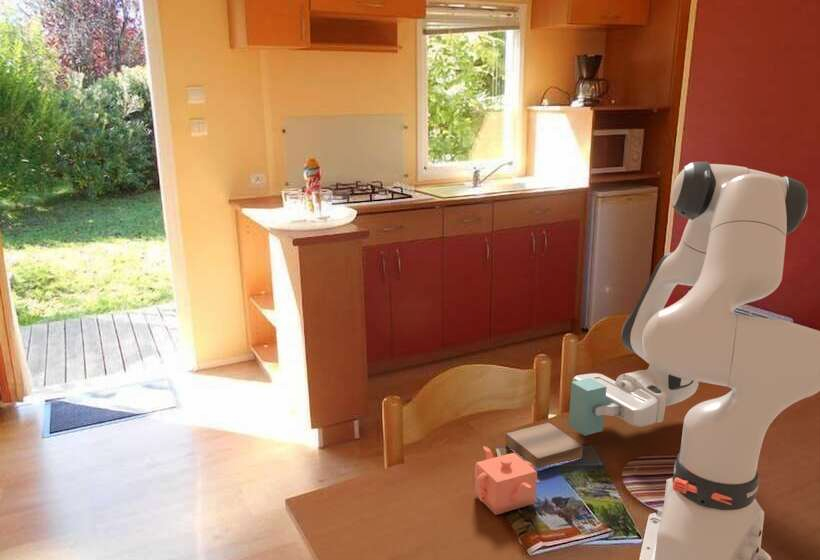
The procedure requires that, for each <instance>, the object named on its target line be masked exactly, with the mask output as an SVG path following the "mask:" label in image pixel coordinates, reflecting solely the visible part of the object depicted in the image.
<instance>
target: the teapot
mask: <svg viewBox="0 0 820 560" xmlns="http://www.w3.org/2000/svg"><path fill="white" fill-rule="evenodd" d="M483 451H484V453H485V457H486V459H484V460H480V461H477V462H475V471H474V472H475V474H474V476H475V477H474V495H475V496H476V497H477V498H478V499H479V501H480V502H481V503H483V504H484V505H485V506H486V507H487V508H488V509H489V510H490V511H491V512H492V513H493V514H494V515H495V516H497V515H501V514H505V513H508V512H511V511H514V510H518V509H520V508H524V507H528V506H531V505H534V504H536V497H537V495H536V494H537V479H538V472H537V471H536V470H534V466H533V465H532V464H531V463H530V462H528V461H524V460H523V459H521V458H520V457H519V456H518V455H517V454H515V453H513V452H511V453H507V454H503V455H499V456H496V457H494V455H493V453H492V450H491V449H490V448H489V447H487V446H483Z"/></svg>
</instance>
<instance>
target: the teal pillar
mask: <svg viewBox="0 0 820 560" xmlns="http://www.w3.org/2000/svg"><path fill="white" fill-rule="evenodd" d="M570 386H571V387H570V397H569V398H570V399H569V400H570V401H569V413H568V414H569V415H568V426H569V427H570V428H571V429H573V430H575V431H577V432H578V433H579V434H580V435H583V436H589V435H592V434H595V433H599V432H604V422H605V415H600V416H597V415H595V414H594V413H592V410H593V409H592V408H593V406H594V405H597V404H600V405H605V400H606V388H607V387H606V386H604V385H602V384H601V383H599V382H597V381H595V380H593V379H591V378H588V379H583V380H579V381H574V382H573V381H571V384H570Z"/></svg>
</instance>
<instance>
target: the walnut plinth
mask: <svg viewBox="0 0 820 560" xmlns="http://www.w3.org/2000/svg"><path fill="white" fill-rule="evenodd" d="M505 447H506V448H507V447H508V448H510V449H512V450H514V451H515V452H516V453H518V454H519V455H520V456H522V457H523V458H524V459H526V460H527V461H528V462H530V463H531V464H532V465H534V466H535V467H536V468H537V469H538V468H541V467H544V466H547V465H551V464H555V463H560V462H565V461H571V460H574V459H577V458H581V457H582V458H583V448H584V445H582V444H581V443H579V442H578V441H576V440H575V439H573V438H572V437H571V436H569V435H568V434H567V433H564V432H563V431H562V430H561V429H559V428H557V427H556V426H555V425H553V424H552V423H550V422H545V423H542V424H537V425H534V426H531V427H526V428H522V429H518V430H515V431H511V432H510V431H509V432H507V433H506V434H505ZM508 448H507V449H508ZM510 449H509V450H510Z"/></svg>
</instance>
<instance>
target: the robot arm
mask: <svg viewBox="0 0 820 560" xmlns="http://www.w3.org/2000/svg"><path fill="white" fill-rule="evenodd" d="M808 200H809V193H808V190H807V187H806V185H805V184H804V183H802V182H801V181H799V180H797V179H795V178H792V177H789V176H787V175H784V176H780V175H777V174H772V173H769V172H765V171H761V170H757V169H752V168H748V167H745V166H739V165H733V164H722V163H710V162H709V161H694V162H693V161H692V162H690V163H688V164H686V165H684V166H683V167H682V168H681V170H680V172H679V173H678V175H677V176H676V177H675V179H674V182H673V184H672V188H671V201H672V208H673V209H674V211H675V212H676V213H677V215H679V216H680V217H681V216H682V217H684V219H685V218H686V219H688V220H687V223H686V225H685V227H684V230H683V232H682V236H681V239H680V242H679V243H678V246H677V247H676V249H674V251H671V252H668V253H666V254H665V255H664V256H662V258H661V259H660V260H659V261H658V263H657V264H656V266H655V267H654V270H653V272H652V273H651V275H650V276H649V279H648V281H647V283H646V285H645V286H644V289H643V291H642V293H641V295H640V297H639V299H638V301H637V303H636V305H635V307H634V309H633V311H632V312H631V314H630V315H629V316H628V318H626V320H625V322H624V323H623V325H622V329H621V341H622V345H623V346H624V348H625V349H627V350H629V351H630V352H632V353H633V354H635V355H637V356H638V357H640V358H641V359H642V360H644V361H645V362H646V363H647V364H648V368H647V369H641V370H636V371H632V372H626V373H623V374H620V375H618V376H617V378H616V380H614V379H612V378H611V377H608V376H606V375H604V374H602V373H597V372H596V373H593V372H592V373H584V374H577V375H575V376H574V377H573V379H572V382H574V381H579V380H583V379H588V378H591V379H593V380H595V381H597V382H599V383H601V384H602V385H604V386H606V387H607V388H606V400H605V405H600V404H597V405H594V406H593V408H592V409H593V410H592V413H594V414H595V415H597V416H600V415H604V416H612V417H617V418H618V419H620V420H622V421H623V422H625V423H627V424H628V425H630V426H632V427H639V428H642V427H646V426H651V425H653V424H658V423H662V422H664V418H665V410H666V407H668V406H671V405H675V404H678V403H681V402H683V401H685V400H687V399H689V398H690V397H692V396H693V395H694V394H695V393H696V392H697V389H698V387H699V383H704V384H711V385H716V386H722V387H728V388H730V389H731V390H730V391H729V392H727V393H726V394H724V395H721V396H719V397H716V398H712V399H706V400H705V401H701V402H699V403H697V404H695V405H694V406H693V407H691V408H690V409H689V410H688V411H687V413H686V415H685V416H684V418H683V425H682V432H681V433H682V435H681V443H680V449H679V452H678V453H677V456H676V460H675V463H674V465H673V466H674V467H673V475H672V477H670V478H667V479H666V481H665V483H666V484H665V491H664V492H665V493H664V501H663V507H662V508H661V507H657V509H656V512H653V513H650V514H648V517H647V522H646V526H645V531H644V536H643V540H642V543H641V544H642V545H641V549H640V554H639V559H638V560H772V557H771V555H770V554H769V553H767V552H766V551H765V550H764V549H763V548H761V545H762V540H763V539H762V537H763V529H764V521H765V511H764V510H763V508H762V506H760V504H759V503H758V500H757V499H756V497H757V492H758V490H759V483H760V481H759V471H758V463H759V457H760V453H761V449H762V445H763V442H764V438H765V435H766V433H767V431H768V429H769V427H770V425H771V424H772V423H773V421H774V420H775V419H776V418H777V416H778V415H780V414H781V413H782V412H783V411H784V410H785V409H787V408H788V407H790V406H792V405H793V404H795V403H797V402H799V401H801V400H803V399H806V398H809V397H812V396H814V395H815V394H818V393H819V392H820V330H818V329H816V328H815V329H814V328H812V327H811V328H810V327H808V326H806V325H805V326H804V325H801V324H799V323H795V322H791V321H788V320H782V319H773V318H765V317H757V316H750V315H741V314H737V313H734V312H733V311H735V309H737V308H739V307H741V306H743V305H745V304H748V303H749V304H750V303H752V302H753V303H754V302H755V301H759V300H761V299H764V298H766V297H768V296H769V295H771V294H772V293H773V292H775V291H776V290H777V288H779V286H780V284H781V283H782V280H783V273H784V264H785V252H786V242H787V235H789V234H791V233H793V232H794V231H796V230H797V229H798V228H799V226H800V225H801V223H802V221H803V219H804V218H805V216H806V214H807V210H808V202H809V201H808ZM677 285H681V286H687V287H692V288H691V289H690V290H689V291H688V292H687V293H686V294H685V295H684V296H683V297H682V298H680V299H679V300H677V301H676V302H674V303H673V304H671V305H670V306H667V307H665V306H666V304H667V303H668V300H669V298H670V296H671V294H672V293H673V290H674V289H675V287H676V286H677Z"/></svg>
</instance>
